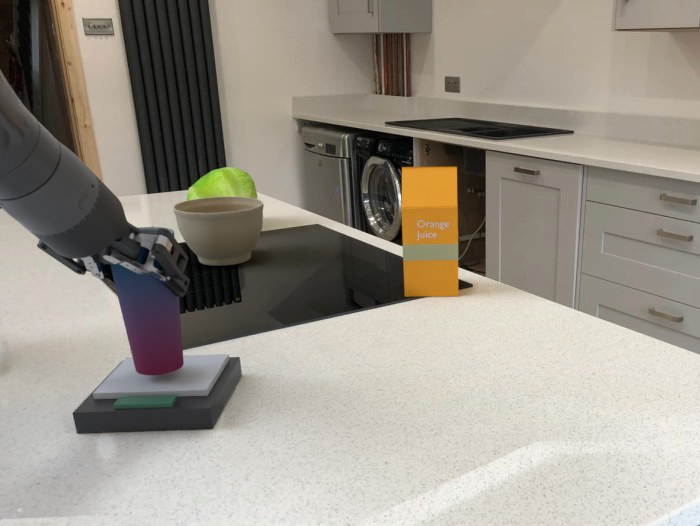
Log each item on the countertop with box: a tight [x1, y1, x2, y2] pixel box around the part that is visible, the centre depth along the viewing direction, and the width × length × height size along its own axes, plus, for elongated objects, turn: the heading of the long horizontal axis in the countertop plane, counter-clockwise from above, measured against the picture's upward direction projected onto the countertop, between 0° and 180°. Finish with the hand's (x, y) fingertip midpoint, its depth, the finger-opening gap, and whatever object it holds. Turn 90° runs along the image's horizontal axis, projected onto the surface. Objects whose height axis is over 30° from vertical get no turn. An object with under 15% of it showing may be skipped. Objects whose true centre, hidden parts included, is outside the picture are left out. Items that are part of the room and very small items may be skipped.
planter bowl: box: [172, 196, 265, 267], centre depth 138 cm, size 16×16×11 cm
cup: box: [110, 226, 184, 375], centre depth 79 cm, size 7×7×15 cm
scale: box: [72, 353, 243, 434], centre depth 82 cm, size 14×14×3 cm
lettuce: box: [186, 166, 258, 201], centre depth 164 cm, size 15×20×14 cm
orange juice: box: [400, 166, 459, 298], centre depth 118 cm, size 8×9×20 cm
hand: (155, 287), depth 80 cm, fingers closed on cup, 6 cm apart
